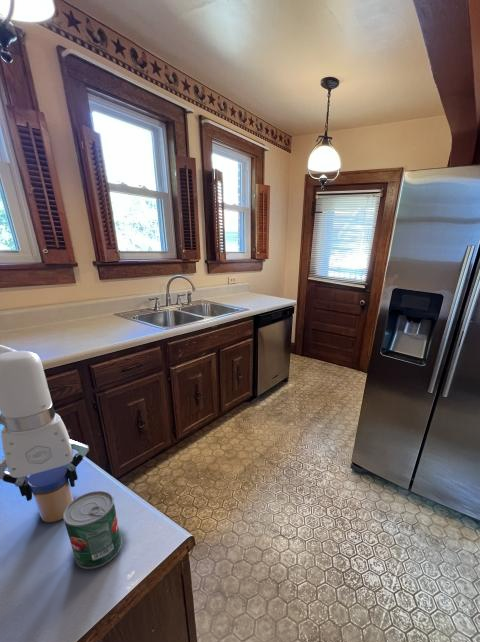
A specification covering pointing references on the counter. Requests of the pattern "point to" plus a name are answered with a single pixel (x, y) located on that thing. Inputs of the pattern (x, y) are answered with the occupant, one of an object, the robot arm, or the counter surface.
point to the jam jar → (54, 503)
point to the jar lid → (48, 480)
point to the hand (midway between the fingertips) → (51, 488)
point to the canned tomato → (93, 529)
